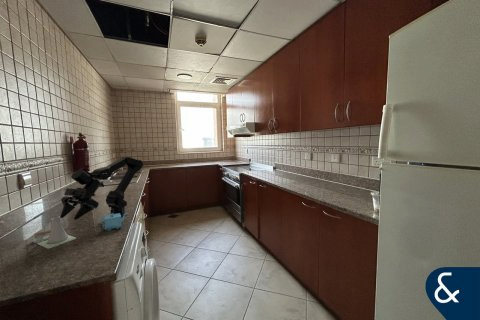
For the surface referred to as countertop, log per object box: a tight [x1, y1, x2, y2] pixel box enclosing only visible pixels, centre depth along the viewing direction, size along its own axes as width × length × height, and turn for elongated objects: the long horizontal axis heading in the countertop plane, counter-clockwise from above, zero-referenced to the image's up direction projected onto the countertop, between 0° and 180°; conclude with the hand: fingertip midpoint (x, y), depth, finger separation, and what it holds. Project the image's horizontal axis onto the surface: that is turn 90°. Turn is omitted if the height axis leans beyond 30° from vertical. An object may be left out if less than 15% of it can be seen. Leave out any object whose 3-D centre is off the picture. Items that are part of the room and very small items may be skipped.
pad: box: [36, 234, 77, 250], centre depth 91 cm, size 10×10×1 cm
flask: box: [47, 216, 69, 243], centre depth 91 cm, size 7×7×10 cm
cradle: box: [31, 234, 50, 244], centre depth 94 cm, size 10×4×3 cm, turn 153°
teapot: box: [100, 212, 128, 232], centre depth 104 cm, size 12×6×8 cm, turn 125°
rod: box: [33, 228, 52, 237], centre depth 94 cm, size 9×2×2 cm, turn 153°
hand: (67, 218), depth 95 cm, fingers open, 9 cm apart
